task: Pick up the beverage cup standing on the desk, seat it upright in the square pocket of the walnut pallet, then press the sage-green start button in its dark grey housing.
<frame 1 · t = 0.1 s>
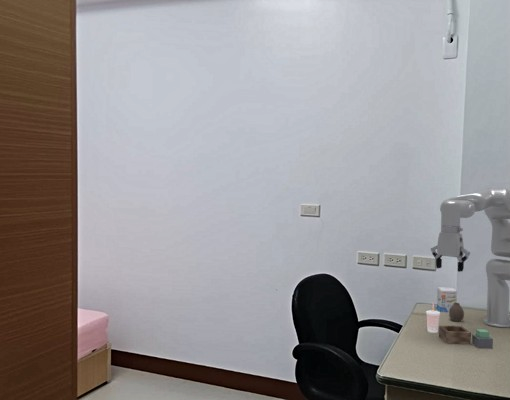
hand: (449, 269, 213), 31 cm above the table, tool pointing down, fingers open, 9 cm apart
vase: (456, 321, 248), on the table
pallet: (454, 340, 216), on the table
ink box: (446, 310, 268), on the table
start button: (482, 336, 209), point 4 cm above the table, slide at 0.0 cm
beverage cup: (432, 331, 229), on the table
button housing: (482, 346, 209), on the table
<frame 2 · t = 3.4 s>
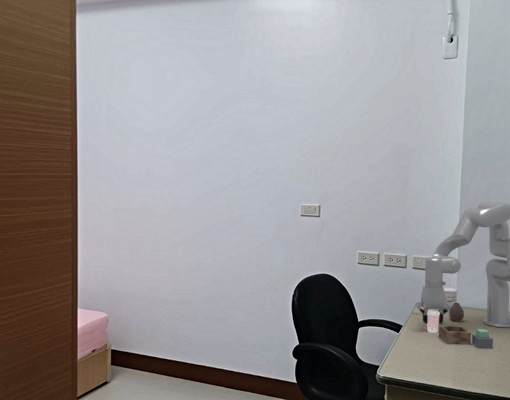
hand: (432, 322, 229), 4 cm above the table, tool pointing down, fingers closed on beverage cup, 6 cm apart
beverage cup: (432, 331, 229), on the table, touching gripper
everything else where it was.
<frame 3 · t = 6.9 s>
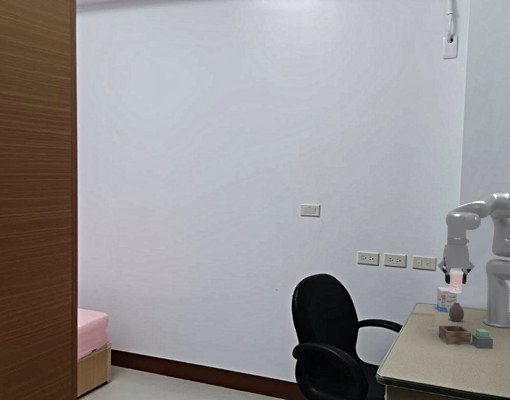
hand: (455, 283, 215), 25 cm above the table, tool pointing down, fingers closed on beverage cup, 6 cm apart
beverage cup: (455, 292, 215), point 21 cm above the table, touching gripper
everything else where it was.
when the fingers open (7 cm above the table, at t = 10.7 s): beverage cup drops 2 cm, resting on pallet.
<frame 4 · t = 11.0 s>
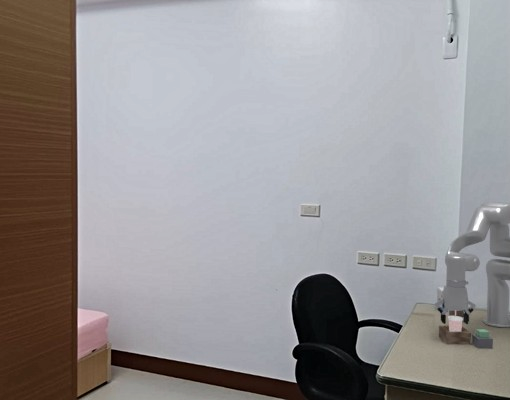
hand: (454, 323, 216), 8 cm above the table, tool pointing down, fingers open, 9 cm apart
beverage cup: (454, 338, 216), point 1 cm above the table, touching pallet
everything else where it was.
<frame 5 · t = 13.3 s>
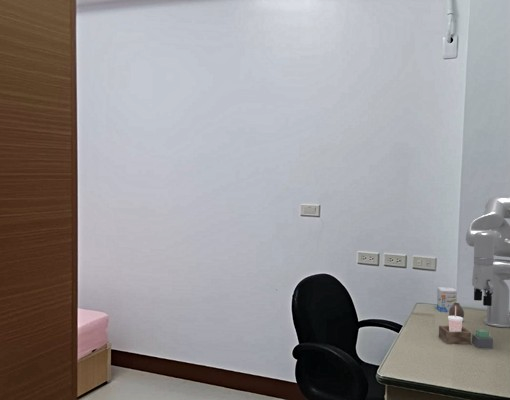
hand: (482, 302, 208), 18 cm above the table, tool pointing down, fingers open, 8 cm apart
nothing on the table moved.
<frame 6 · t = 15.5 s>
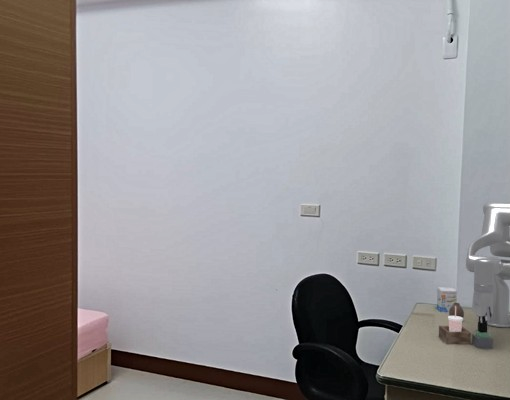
hand: (482, 331, 208), 6 cm above the table, tool pointing down, fingers closed
start button: (482, 337, 209), point 4 cm above the table, slide at 0.4 cm, touching gripper
everything else where it was.
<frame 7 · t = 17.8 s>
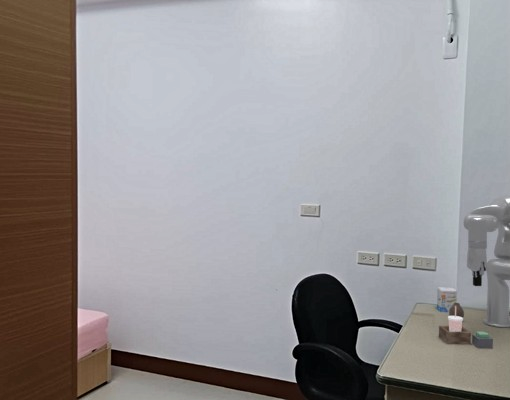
hand: (477, 285, 221), 23 cm above the table, tool pointing down, fingers closed
start button: (482, 339, 209), point 3 cm above the table, slide at 1.0 cm
everything else where it was.
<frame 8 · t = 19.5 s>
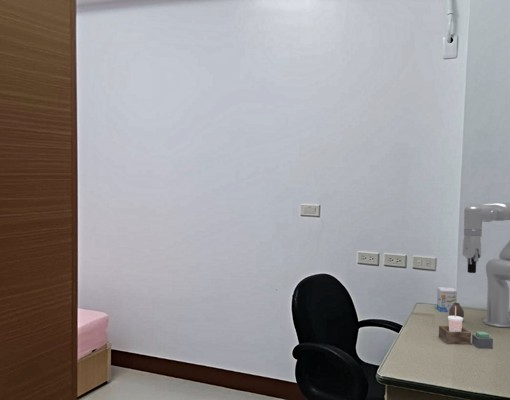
hand: (471, 272, 230), 27 cm above the table, tool pointing down, fingers closed
nothing on the table moved.
at the end: beverage cup 0.3 cm off-centre on the pallet, point 0.8 cm above the pallet's base; beverage cup tilted 0°; start button slide at 1.0 cm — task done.
